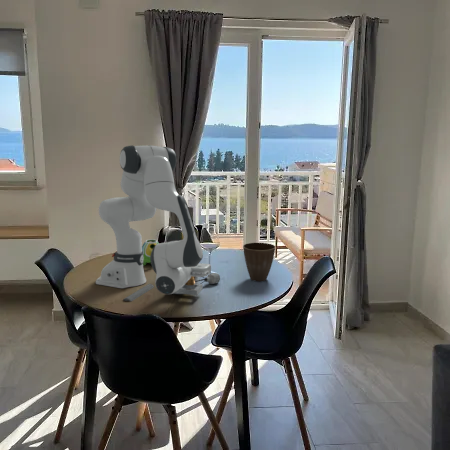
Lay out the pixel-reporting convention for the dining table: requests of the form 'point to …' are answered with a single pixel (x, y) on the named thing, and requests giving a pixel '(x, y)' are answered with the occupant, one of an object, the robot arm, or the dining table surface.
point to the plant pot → (258, 260)
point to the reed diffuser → (211, 278)
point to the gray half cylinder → (139, 293)
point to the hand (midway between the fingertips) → (190, 263)
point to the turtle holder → (148, 250)
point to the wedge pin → (190, 281)
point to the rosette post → (189, 289)
